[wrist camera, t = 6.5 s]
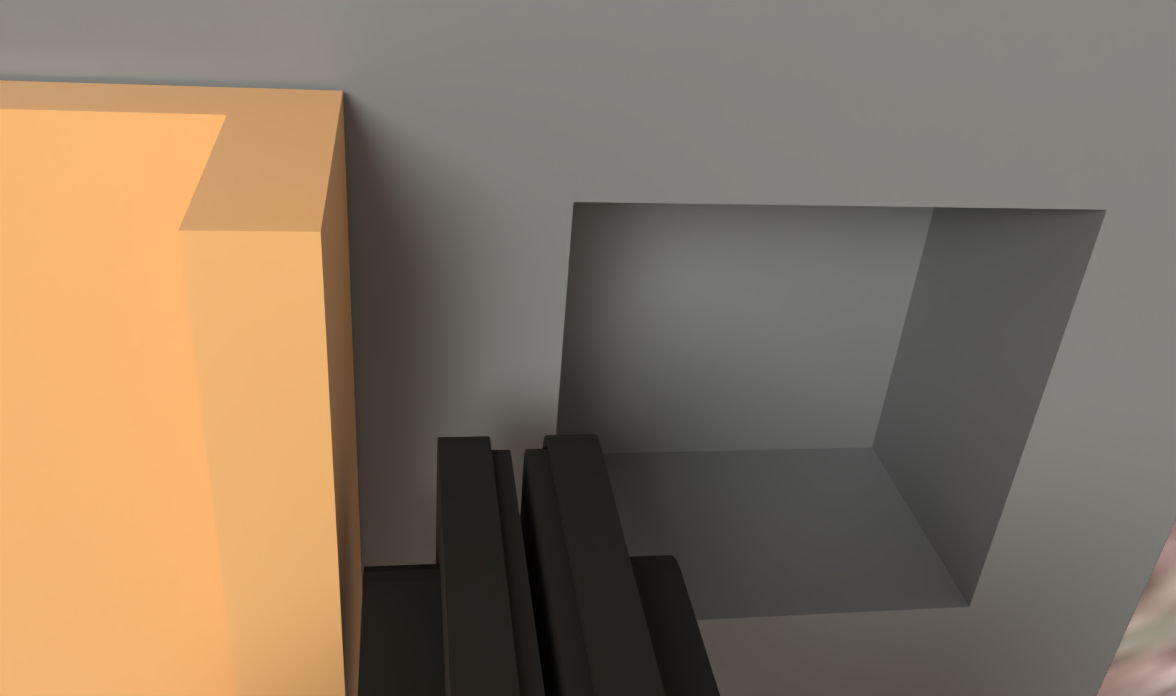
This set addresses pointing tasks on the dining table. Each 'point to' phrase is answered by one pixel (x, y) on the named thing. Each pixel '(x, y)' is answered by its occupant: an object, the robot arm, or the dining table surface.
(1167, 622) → the dining table surface
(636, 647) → the robot arm
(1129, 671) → the dining table surface
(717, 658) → the socket
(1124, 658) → the dining table surface
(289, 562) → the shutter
